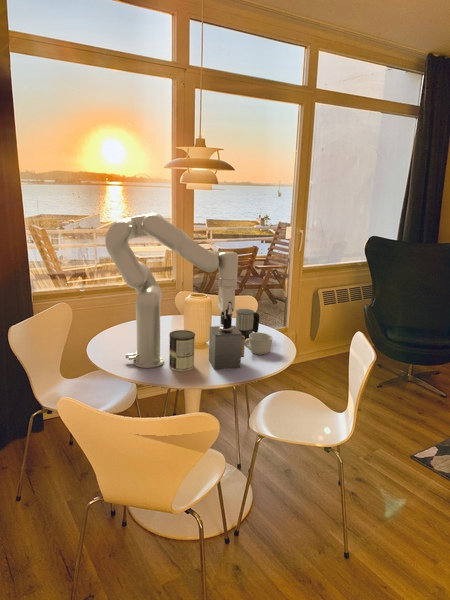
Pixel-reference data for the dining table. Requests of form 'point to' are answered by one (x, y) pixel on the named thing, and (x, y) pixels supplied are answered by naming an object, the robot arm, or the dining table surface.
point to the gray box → (226, 348)
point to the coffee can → (181, 350)
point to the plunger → (223, 324)
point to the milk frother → (247, 321)
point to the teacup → (259, 343)
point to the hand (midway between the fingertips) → (225, 325)
